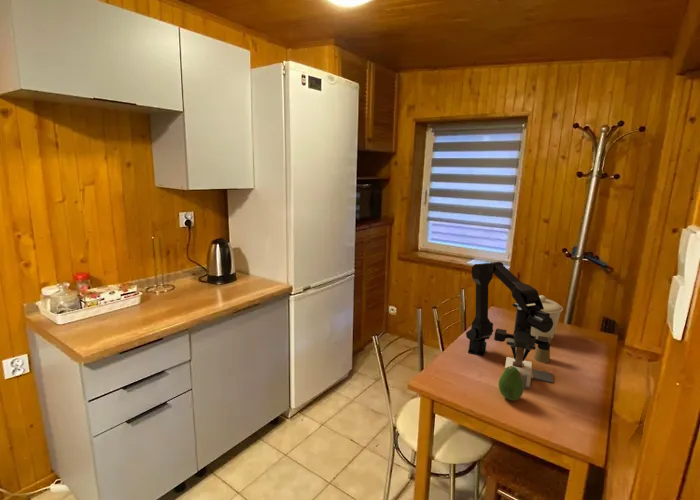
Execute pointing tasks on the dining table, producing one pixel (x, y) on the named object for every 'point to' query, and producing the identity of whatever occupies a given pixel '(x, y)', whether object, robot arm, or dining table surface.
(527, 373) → the guard
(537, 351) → the cork
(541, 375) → the pad
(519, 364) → the cylinder
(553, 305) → the canister
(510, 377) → the fruit
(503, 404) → the dining table surface
